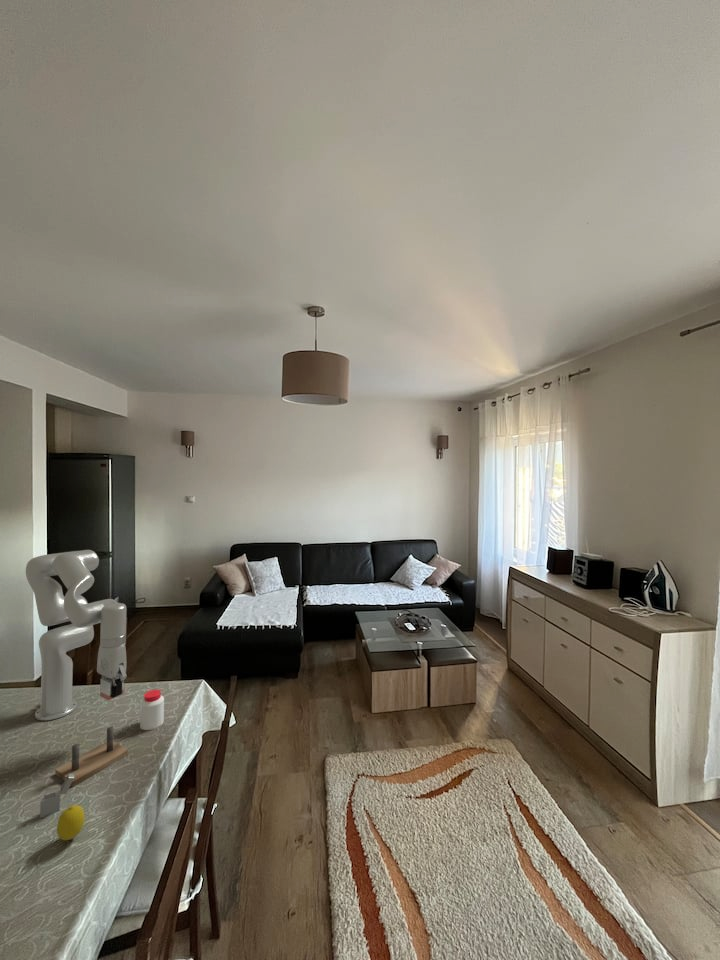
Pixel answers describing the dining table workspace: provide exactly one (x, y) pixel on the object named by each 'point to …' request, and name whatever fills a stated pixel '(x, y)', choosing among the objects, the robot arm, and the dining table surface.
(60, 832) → the lemon
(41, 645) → the robot arm
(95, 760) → the pin board
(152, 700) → the pill bottle
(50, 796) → the grey flat piece
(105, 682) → the sleeve
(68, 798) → the dining table surface
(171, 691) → the dining table surface
